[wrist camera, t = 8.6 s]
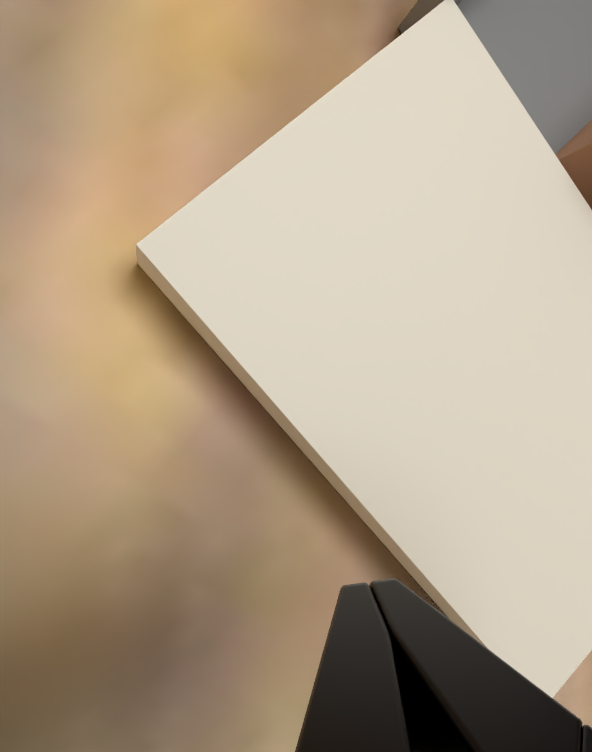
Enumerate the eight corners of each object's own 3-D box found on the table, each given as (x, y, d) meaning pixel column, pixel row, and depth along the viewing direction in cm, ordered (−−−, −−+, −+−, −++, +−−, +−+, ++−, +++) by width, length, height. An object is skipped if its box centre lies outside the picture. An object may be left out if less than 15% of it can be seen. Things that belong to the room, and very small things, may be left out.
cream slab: (492, 668, 23) (542, 710, 20) (136, 262, 19) (136, 244, 16) (683, 443, 26) (751, 452, 23) (409, 44, 22) (450, -5, 19)
